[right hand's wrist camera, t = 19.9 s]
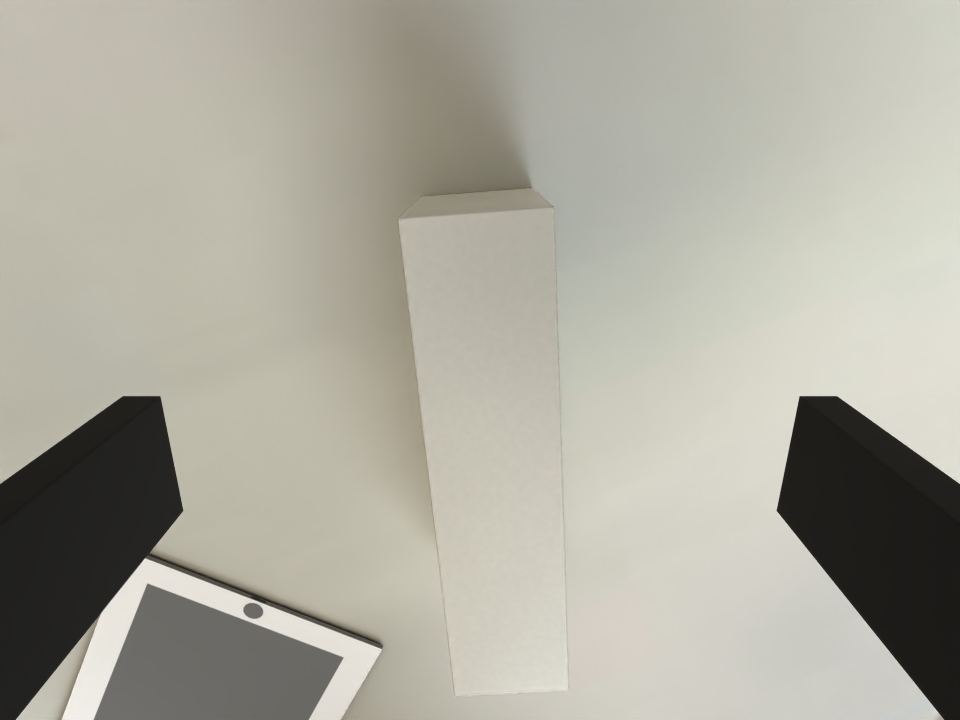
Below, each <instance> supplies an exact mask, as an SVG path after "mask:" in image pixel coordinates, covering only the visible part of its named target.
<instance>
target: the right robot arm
mask: <svg viewBox="0 0 960 720" xmlns="http://www.w3.org/2000/svg"><path fill="white" fill-rule="evenodd" d="M182 512H183V507H182V502H181V497H180V492H179V487H178V482H177V477H176V472H175V467H174V462H173V457H172V452H171V447H170V442H169V437H168V432H167V427H166V422H165V417H164V412H163V407H162V402H161V397H160V396H123V397H121V398H120V399H119V400H117V401H116V402H114V403H113V404H112V405H110V406H109V407H107V408H106V409H105V410H103V411H102V412H100V413H99V414H98V415H96V416H95V417H93V418H92V419H91V420H89V421H88V422H86V423H85V424H84V425H82V426H81V427H79V428H78V429H77V430H75V431H74V432H72V433H71V434H70V435H68V436H67V437H65V438H64V439H63V440H61V441H60V442H58V443H57V444H56V445H54V446H53V447H51V448H50V449H49V450H47V451H46V452H44V453H43V454H42V455H40V456H39V457H37V458H36V459H35V460H33V461H32V462H30V463H29V464H28V465H26V466H25V467H23V468H22V469H21V470H19V471H18V472H16V473H15V474H14V475H12V476H11V477H10V478H8V479H7V480H5V481H4V482H3V483H1V484H0V720H16V719H17V717H18V716H19V715H20V714H21V712H22V711H23V710H24V709H25V707H26V706H27V705H28V704H29V702H30V701H31V700H32V699H33V697H34V696H35V695H36V694H37V692H38V691H39V690H40V689H41V687H42V686H43V685H44V684H45V682H46V681H47V680H48V679H49V677H50V676H51V675H52V674H53V672H54V671H55V670H56V669H57V667H58V666H59V665H60V664H61V663H62V661H63V660H64V659H65V658H66V656H67V655H68V654H69V653H70V651H71V650H72V649H73V648H74V646H75V645H76V644H77V643H78V641H79V640H80V639H81V638H82V636H83V635H84V634H85V633H86V631H87V630H88V629H89V628H90V626H91V625H92V624H93V623H94V621H95V620H96V619H97V618H98V616H99V615H100V614H101V613H102V611H103V610H104V609H105V608H106V606H107V605H108V604H109V603H110V601H111V600H112V599H113V598H114V596H115V595H116V594H117V593H118V591H119V590H120V589H121V588H122V586H123V585H124V584H125V583H126V581H127V580H128V579H129V578H130V577H131V575H132V574H133V573H134V572H135V570H136V569H137V568H138V567H139V565H140V564H141V563H142V562H143V560H144V559H145V558H146V557H147V555H148V554H149V553H150V552H151V550H152V549H153V548H154V547H155V545H156V544H157V543H158V542H159V540H160V539H161V538H162V537H163V535H164V534H165V533H166V532H167V530H168V529H169V528H170V527H171V525H172V524H173V523H174V522H175V520H176V519H177V518H178V517H179V515H180V514H181V513H182ZM777 512H778V513H779V514H780V515H781V517H782V518H783V519H784V520H785V522H786V523H787V524H788V525H789V527H790V528H791V529H792V530H793V532H794V533H795V534H796V535H797V537H798V538H799V539H800V540H801V542H802V543H803V544H804V545H805V547H806V548H807V549H808V550H809V552H810V553H811V554H812V555H813V557H814V558H815V559H816V560H817V562H818V563H819V564H820V565H821V567H822V568H823V569H824V570H825V572H826V573H827V574H828V575H829V577H830V578H831V579H832V580H833V581H834V583H835V584H836V585H837V586H838V588H839V589H840V590H841V591H842V593H843V594H844V595H845V596H846V598H847V599H848V600H849V601H850V603H851V604H852V605H853V606H854V608H855V609H856V610H857V611H858V613H859V614H860V615H861V616H862V618H863V619H864V620H865V621H866V623H867V624H868V625H869V626H870V628H871V629H872V630H873V631H874V633H875V634H876V635H877V636H878V638H879V639H880V640H881V641H882V643H883V644H884V645H885V646H886V648H887V649H888V650H889V651H890V653H891V654H892V655H893V656H894V658H895V659H896V660H897V661H898V663H899V664H900V665H901V666H902V667H903V669H904V670H905V671H906V672H907V674H908V675H909V676H910V677H911V679H912V680H913V681H914V682H915V684H916V685H917V686H918V687H919V689H920V690H921V691H922V692H923V694H924V695H925V696H926V697H927V699H928V700H929V701H930V702H931V704H932V705H933V706H934V707H935V709H936V710H937V711H938V712H939V714H940V715H941V716H942V717H943V719H944V720H960V484H959V483H957V482H956V481H955V480H953V479H952V478H950V477H949V476H948V475H946V474H945V473H944V472H942V471H941V470H939V469H938V468H937V467H935V466H934V465H932V464H931V463H930V462H928V461H927V460H925V459H924V458H923V457H921V456H920V455H918V454H917V453H916V452H914V451H913V450H911V449H910V448H909V447H907V446H906V445H904V444H903V443H902V442H900V441H899V440H897V439H896V438H895V437H893V436H892V435H890V434H889V433H888V432H886V431H885V430H883V429H882V428H881V427H879V426H878V425H876V424H875V423H874V422H872V421H871V420H869V419H868V418H867V417H865V416H864V415H862V414H861V413H860V412H858V411H857V410H855V409H854V408H853V407H851V406H850V405H848V404H847V403H846V402H844V401H843V400H841V399H840V398H839V397H837V396H800V397H799V402H798V407H797V412H796V417H795V422H794V427H793V432H792V437H791V442H790V447H789V452H788V457H787V462H786V467H785V472H784V477H783V482H782V487H781V492H780V497H779V502H778V507H777Z"/></svg>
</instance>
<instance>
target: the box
mask: <svg viewBox="0 0 960 720" xmlns="http://www.w3.org/2000/svg"><path fill="white" fill-rule="evenodd" d="M398 226H399V235H400V243H401V251H402V260H403V268H404V277H405V285H406V293H407V302H408V310H409V318H410V327H411V335H412V344H413V352H414V360H415V369H416V377H417V385H418V394H419V402H420V411H421V419H422V427H423V436H424V444H425V452H426V461H427V469H428V478H429V486H430V494H431V503H432V511H433V520H434V528H435V536H436V545H437V553H438V561H439V570H440V578H441V587H442V595H443V603H444V612H445V620H446V628H447V637H448V645H449V654H450V662H451V670H452V679H453V687H454V695H455V697H460V696H478V695H495V694H513V693H531V692H549V691H567V690H569V671H568V638H567V606H566V574H565V542H564V510H563V477H562V445H561V413H560V381H559V348H558V316H557V284H556V252H555V219H554V207H553V206H552V205H551V204H550V203H549V202H548V201H547V200H545V199H544V198H543V197H542V196H541V195H540V194H539V193H537V192H536V191H535V190H534V189H533V188H524V189H511V190H498V191H485V192H472V193H459V194H446V195H433V196H422V197H420V198H419V199H418V200H417V201H416V202H415V203H414V204H413V205H412V206H411V207H410V208H409V209H408V210H407V211H406V212H405V213H403V214H402V215H401V216H400V217H399V218H398Z"/></svg>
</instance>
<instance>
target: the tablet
mask: <svg viewBox="0 0 960 720" xmlns="http://www.w3.org/2000/svg"><path fill="white" fill-rule="evenodd" d="M382 648H383V645H380V644H378V643H375V642H372V641H370V640H367V639H365V638H362V637H359V636H357V635H354V634H352V633H349V632H346V631H344V630H341V629H339V628H336V627H333V626H331V625H328V624H326V623H323V622H320V621H318V620H315V619H313V618H310V617H307V616H305V615H302V614H300V613H297V612H294V611H292V610H289V609H287V608H284V607H281V606H279V605H276V604H274V603H271V602H268V601H266V600H263V599H261V598H258V597H255V596H253V595H250V594H248V593H245V592H242V591H240V590H237V589H235V588H232V587H230V586H227V585H224V584H222V583H219V582H217V581H214V580H211V579H209V578H206V577H204V576H201V575H198V574H196V573H193V572H191V571H188V570H185V569H183V568H180V567H178V566H175V565H172V564H170V563H167V562H165V561H162V560H159V559H157V558H154V557H152V556H149V555H147V557H146V558H145V559H144V560H143V562H142V563H141V564H140V565H139V567H138V568H137V569H136V570H135V572H134V573H133V574H132V575H131V577H130V578H129V579H128V580H127V581H126V583H125V584H124V585H123V586H122V588H121V589H120V590H119V591H118V593H117V594H116V595H115V596H114V598H113V599H112V600H111V601H110V603H109V604H108V605H107V606H106V608H105V609H104V610H103V611H102V613H101V615H100V617H99V620H98V623H97V626H96V628H95V631H94V634H93V636H92V639H91V642H90V644H89V647H88V650H87V653H86V655H85V658H84V661H83V663H82V666H81V669H80V671H79V674H78V677H77V680H76V682H75V685H74V688H73V690H72V693H71V696H70V699H69V701H68V704H67V707H66V709H65V712H64V715H63V717H62V720H341V718H342V717H343V715H344V713H345V711H346V710H347V708H348V706H349V705H350V703H351V701H352V700H353V698H354V696H355V695H356V693H357V691H358V689H359V688H360V686H361V684H362V683H363V681H364V679H365V678H366V676H367V674H368V672H369V671H370V669H371V667H372V666H373V664H374V662H375V661H376V659H377V657H378V655H379V654H380V652H381V650H382Z"/></svg>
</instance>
